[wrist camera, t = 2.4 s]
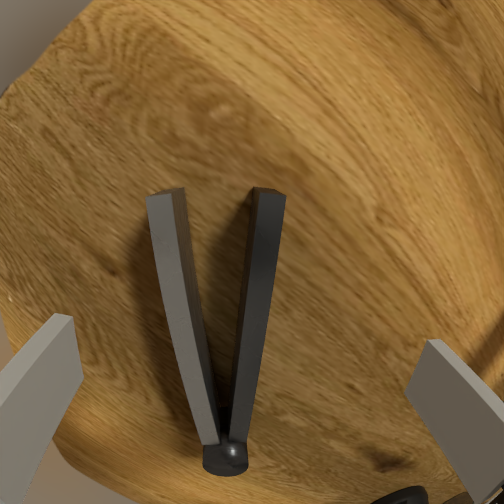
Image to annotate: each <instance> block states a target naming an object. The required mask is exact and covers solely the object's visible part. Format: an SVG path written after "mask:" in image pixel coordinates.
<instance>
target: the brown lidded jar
mask: <svg viewBox="0 0 504 504" xmlns="http://www.w3.org/2000/svg"><path fill="white" fill-rule="evenodd" d="M443 504H475V503H474V501H473V500H472V498H471V496H470V495H469V493H468V492H465V493H462V494H459V495H457V496H455V497H453V498H452V499H450V500H448V501H447V502H445V503H443Z"/></svg>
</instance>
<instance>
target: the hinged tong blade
mask: <svg viewBox="0 0 504 504" xmlns="http://www.w3.org/2000/svg"><path fill="white" fill-rule="evenodd" d="M145 198H146V205H147V212H148V219H149V226H150V232H151V239H152V245H153V251H154V256H155V262H156V267H157V273H158V278H159V283H160V288H161V293H162V298H163V303H164V307H165V312H166V317H167V321H168V325H169V330H170V334H171V338H172V342H173V346H174V350H175V354H176V358H177V362H178V366H179V370H180V373H181V377H182V381H183V384H184V388H185V391H186V395H187V398H188V402H189V405H190V408H191V412H192V415H193V418H194V421H195V425H196V428H197V431H198V434H199V437H200V440H201V443H202V445H216V444H220V402H219V397H218V393H217V388H216V383H215V378H214V373H213V368H212V363H211V358H210V353H209V348H208V342H207V337H206V331H205V326H204V320H203V315H202V309H201V303H200V297H199V291H198V284H197V278H196V272H195V265H194V258H193V251H192V244H191V237H190V230H189V222H188V214H187V206H186V198H185V189H184V187H183V188H175V189H168V190H163V191H160V192H157V193H155V194H152V195H149V196H147V197H145Z"/></svg>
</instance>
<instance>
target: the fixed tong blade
mask: <svg viewBox="0 0 504 504" xmlns="http://www.w3.org/2000/svg"><path fill="white" fill-rule="evenodd" d="M285 202H286V195H284V194H282V193H280V192H279V191H277V190H275V189H269V188H261V187H253V194H252V203H251V211H250V219H249V227H248V235H247V244H246V252H245V260H244V269H243V277H242V286H241V294H240V303H239V311H238V320H237V328H236V337H235V346H234V354H233V363H232V372H231V381H230V390H229V399H228V407H220V444H216V445H204V446H203V463H202V465H203V468H204V469H205V470H206V471H207V472H209V473H211V474H213V475H217V476H224V477H229V476H236V475H239V474H242V473H243V472H245V471H246V470H247V469H248V452H247V436H248V431H249V426H250V420H251V415H252V409H253V404H254V398H255V393H256V387H257V381H258V376H259V370H260V364H261V358H262V352H263V347H264V341H265V335H266V328H267V322H268V316H269V310H270V304H271V297H272V291H273V285H274V278H275V271H276V265H277V258H278V251H279V245H280V238H281V231H282V224H283V217H284V210H285Z"/></svg>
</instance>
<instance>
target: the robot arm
mask: <svg viewBox="0 0 504 504" xmlns="http://www.w3.org/2000/svg"><path fill="white" fill-rule="evenodd" d="M83 379H84V376H83V371H82V367H81V362H80V357H79V352H78V346H77V341H76V335H75V329H74V322H73V317H72V316H67V315H62V314H57V313H54V314H53V315H52V316H51V318H50V319H49V320H48V321H47V322H46V323H45V324H44V325H43V326H42V327H41V328H40V329H39V330H38V331H37V332H36V333H35V334H34V335H33V336H32V337H31V338H30V340H29V341H28V342H27V343H26V344H25V345H24V346H23V347H22V348H21V349H20V350H19V352H18V353H17V354H16V355H15V356H14V357H13V358H12V359H11V361H10V362H9V363H8V364H7V365H6V367H5V368H4V369H3V370H2V371H1V372H0V504H22V503H23V500H24V498H25V496H26V493H27V491H28V489H29V486H30V484H31V482H32V479H33V477H34V475H35V473H36V471H37V468H38V466H39V464H40V462H41V460H42V458H43V455H44V453H45V451H46V449H47V447H48V445H49V443H50V441H51V439H52V437H53V435H54V433H55V431H56V429H57V427H58V425H59V423H60V421H61V420H62V418H63V416H64V414H65V412H66V410H67V408H68V406H69V404H70V403H71V401H72V399H73V397H74V395H75V393H76V392H77V390H78V388H79V386H80V384H81V383H82V381H83ZM404 394H405V395H406V397H407V398H408V400H409V401H410V403H411V404H412V406H413V407H414V409H415V410H416V412H417V413H418V415H419V416H420V417H421V419H422V420H423V422H424V424H425V425H426V427H427V428H428V430H429V431H430V433H431V434H432V436H433V437H434V439H435V440H436V442H437V443H438V445H439V446H440V448H441V450H442V451H443V453H444V454H445V456H446V457H447V459H448V460H449V462H450V464H451V465H452V467H453V468H454V470H455V472H456V473H457V475H458V476H459V478H460V480H461V481H462V483H463V485H464V486H465V488H466V489H467V491H468V493H469V494H470V496H471V498H472V499H473V501H474V503H475V504H480V503H482V502H484V501H485V500H487V499H489V498H490V497H491V496H492V495H493V494H494V493H495V492H497V491H498V490H499V489H500V487H502V489H503V491H502V492H501V493H500V494H499V495H498V496H497V497H496V498H495V499H494V500H492V501H491V502H490V503H489V504H496V503H498V504H504V402H503V401H502V400H500V398H499V397H498V396H497V395H496V394H495V393H494V392H493V391H492V390H491V389H490V388H489V387H488V386H487V385H486V384H485V383H484V382H483V381H482V380H481V379H480V378H479V377H478V376H477V375H476V374H475V373H474V371H473V370H472V369H471V368H470V367H469V366H468V365H467V364H466V363H465V362H464V361H463V360H462V359H460V358H459V357H458V356H457V355H456V354H455V353H454V352H453V351H452V350H451V349H450V348H449V347H448V346H447V345H446V344H445V343H444V342H443V341H442V340H441V339H434V340H427V342H426V344H425V347H424V349H423V352H422V354H421V356H420V359H419V361H418V363H417V366H416V368H415V370H414V373H413V375H412V377H411V379H410V381H409V383H408V386H407V388H406V390H405V392H404ZM372 504H429V502H428V494H427V492H426V490H425V488H424V487H422V486H414V487H409V488H406V489H403V490H400V491H397V492H395V493H393V494H390V495H388V496H386V497H384V498H382V499H380V500H378V501H376V502H374V503H372Z"/></svg>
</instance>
